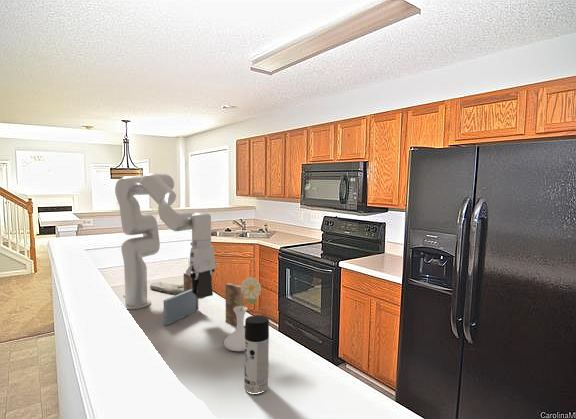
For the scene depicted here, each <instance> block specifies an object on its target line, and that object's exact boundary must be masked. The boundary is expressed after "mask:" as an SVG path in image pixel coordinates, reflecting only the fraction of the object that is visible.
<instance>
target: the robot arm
mask: <svg viewBox="0 0 576 419" xmlns="http://www.w3.org/2000/svg"><path fill="white" fill-rule="evenodd" d="M174 188H175V181H174V179H173V177H172V176H171V175H169V174H167V173H146V174H145V175H144V176H138V175H137V176H134V175H132V176H131V175H130V176H128V175H127V176H123V177H121V178H119V179H118V180H117V181H116V183H115V187H114V193H115V198H116V200H117V202H118V203H117V204H118V206H119V213H120V221H121V222H120V223H121V227H122V231H123V233H124V235H127V236H136V235H143V236H138V237H133V238H128V239H126V240H125V241H124V242H122V244H121V248H120V249H121V250H120V251H121V254H122V259H123V268H124V271H123V272H124V295H123V297H122V298H124V301H123V302H122V303H123V304H124V305H125V307H126V308H127V309H126V310H138V309H139V310H140V309H142V308H146V307H149V306H150V305H151V304H152V300H151V299H149V298H148V272H147V270H148V268H147V264H146V263H145V261H144V259H143V258H144V257H145V258H146V257H150V256H154V255H156V254H158V252H159V250H160V247H161V244H160V235H159V228H158V222H157V219H156V218H155V216H154V215H153V214H150V213H141V206H140V203H139V201H138V200H137V198H136V197H135V196H141V195H142V196H145V195H146V196H148V195H149V196H150V197H151V198H152V199H153V201H154V202H155V203H156V204H157V205H158V208H157V210H158V215H159V216H158V217H159V219H161V220H160V221H162V222H163V224H164V225H165V226H166V227H167V228H168V229H170V230H171V231H174V232H182V231H189V230H191V242H190V243H189V244H190V246H191V248H190V253H189V264H188V265H189V266H188V267H187V269H186V270H185V273H186V274H187V275H189V277H190V278H191V279H192V288H193V289H197V285H198V284H199V280H198V275H199V273H202V272H206V271H210V275H211V283H212V280H213V279H212V278H213V277H212V276H213V275H214V272H215V271H216V268H217V267H218V265H217V263H216V257H215V250H214V245H212V217H211V214H210V213H207V212H197V211H181V212H179V211H178V212H177V211H175V209H173V208H172V207H171V206H172V205H173V203H175V201H176V198H177V194H176V191H174V190H173V189H174ZM195 273H196V274H195Z"/></svg>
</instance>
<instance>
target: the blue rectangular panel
mask: <svg viewBox="0 0 576 419" xmlns="http://www.w3.org/2000/svg"><path fill="white" fill-rule="evenodd" d="M199 309H200V308H199V298H198V297H197V296H196V295H195V294H193V293H192V289H190V290H188V291H185V292H183V293H180V294H178V295H177V294H174V295H173V296H170V297H169V298H166V299H164V300H163V325H165V326H168V325H170V324H172V323H174V322H176V321H177V320H180V319H182V318H184V317H186V316H188V315H190V314H192V313H195V312H196V311H198V310H199Z"/></svg>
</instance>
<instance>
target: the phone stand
mask: <svg viewBox="0 0 576 419" xmlns="http://www.w3.org/2000/svg"><path fill="white" fill-rule="evenodd" d="M195 274H196V273H195ZM198 280H199V284H198V285H197V289H193V288H192V293H193V294H195V295H196V296H197V297H198V299H200V298H206V297H211V296H212V297H213V295H214V293H213V284H212V283H211V275H210V271H206V272H202V273H199V275H198Z"/></svg>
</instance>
